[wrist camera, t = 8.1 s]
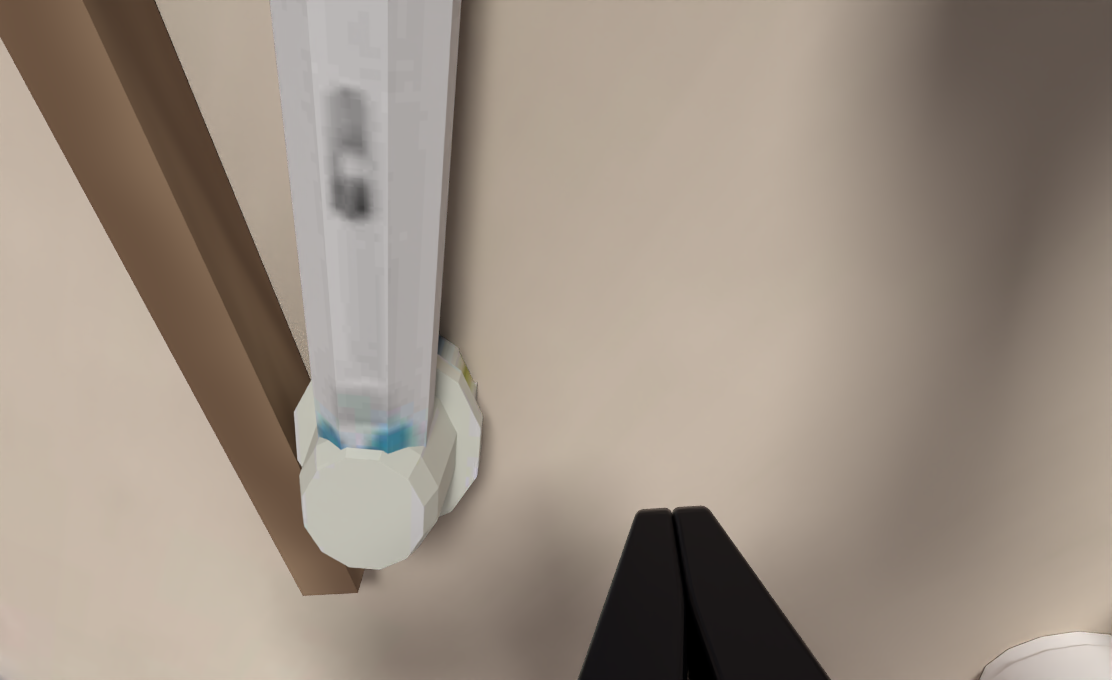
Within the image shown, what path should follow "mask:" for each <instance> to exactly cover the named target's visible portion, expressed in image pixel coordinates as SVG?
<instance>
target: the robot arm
mask: <svg viewBox="0 0 1112 680" xmlns="http://www.w3.org/2000/svg"><path fill="white" fill-rule="evenodd" d="M578 680H831V679H830V678H829V676H828V675H827V673H826V672H825V671H824V669H823V668H822V666H821V665H820V664H819V662H818V661H817V659H816V658H815V657H814V655H813V654H812V652H811V651H810V650H809V648H808V647H807V645H806V644H805V643H804V641H803V640H802V638H801V637H800V636H799V634H798V633H797V631H796V630H795V629H794V627H793V626H792V624H791V623H790V622H789V620H788V619H787V617H786V616H785V615H784V613H783V612H782V610H781V609H780V608H779V606H778V605H777V603H776V602H775V601H774V599H773V598H772V596H771V595H770V594H769V592H768V591H767V589H766V588H765V587H764V585H763V584H762V582H761V581H760V580H759V578H758V577H757V575H756V574H755V573H754V571H753V570H752V568H751V567H750V565H749V564H748V563H747V561H746V560H745V558H744V557H743V556H742V554H741V553H740V551H739V550H738V549H737V547H736V546H735V544H734V543H733V542H732V540H731V539H730V537H729V536H728V535H727V533H726V532H725V530H724V529H723V528H722V526H721V525H720V523H719V522H718V521H717V519H716V518H715V516H714V515H713V514H712V512H711V511H710V510H709V509H708V508H707V507H705V506H687V507H677V508H675V509H674V510H673V512H671V511H670V510H669V509H667V508H656V509H642V510H639V511H638V512H637V513H636V515H635V517H634V520H633V523H632V526H631V529H630V532H629V535H628V537H627V540H626V543H625V546H624V549H623V552H622V555H621V557H620V560H619V563H618V566H617V569H616V572H615V575H614V578H613V580H612V583H611V586H610V589H609V592H608V595H607V598H606V600H605V603H604V606H603V609H602V612H601V615H600V618H599V620H598V623H597V626H596V629H595V632H594V635H593V638H592V641H591V643H590V646H589V649H588V652H587V655H586V658H585V661H584V663H583V666H582V669H581V672H580V675H579V678H578Z"/></svg>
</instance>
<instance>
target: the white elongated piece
mask: <svg viewBox="0 0 1112 680" xmlns="http://www.w3.org/2000/svg"><path fill="white" fill-rule="evenodd" d="M270 8H271V17H272V26H273V35H274V44H275V53H276V62H277V71H278V80H279V89H280V98H281V107H282V116H283V125H284V134H285V143H286V152H287V161H288V170H289V179H290V188H291V197H292V206H293V215H294V224H295V233H296V242H297V251H298V260H299V269H300V278H301V287H302V296H303V305H304V314H305V323H306V332H307V341H308V350H309V359H310V368H311V377H312V380H311V381H310V383H309V385H308V387H307V389H306V391H305V393H304V394H303V396H302V398H301V400H300V402H299V404H298V405H297V407H296V409H295V411H294V420H295V433H296V447H297V460H298V462H299V463H300V465H301V466H302V469H301V472H300V475H299V478H300V492H301V505H302V514H303V522H304V527H305V528H306V529H307V531H308V532H309V534H310V535H311V537H312V538H313V540H314V541H315V543H316V544H317V546H318V547H319V549H320V550H321V551H322V552H323V553H325V554H327V555H329V556H330V557H332V558H334V559H336V560H337V561H339V562H341V563H343V564H344V565H346V566H348V567H352V568H365V569H377V570H381V569H383V568H385V567H388V566H390V565H393V564H395V563H397V562H400V561H402V560H404V559H407V558H408V557H409V556H410V555H411V554H412V553H413V552H414V551H415V550H416V549H417V548H418V547H419V546H420V544H421V543H422V542H423V540H424V539H425V537H426V536H427V535H428V533H429V532H430V530H431V529H432V528H433V526H434V525H435V523H436V522H437V520H438V517H440V516H442V515H445V514H447V513H449V512H452V510H453V509H454V507H455V506H456V505H457V503H458V502H459V501H460V499H461V498H462V496H463V495H464V494H465V492H466V491H467V489H468V488H469V487H470V485H471V484H472V483H473V481H474V480H475V478H476V477H477V475H478V469H479V462H480V449H481V436H482V422H483V415H482V413H481V411H480V409H479V407H478V404H477V402H476V396H477V382H473V380H472V377H471V375H470V373H469V371H468V369H467V367H466V365H465V363H464V361H463V359H462V356H461V354H460V352H459V348H458V347H457V346H455V345H454V344H452V343H451V342H449V341H448V340H446V339H445V338H443V337H442V336H440V335H439V322H440V308H441V293H442V278H443V263H444V249H445V234H446V219H447V205H448V190H449V175H450V161H451V146H452V131H453V117H454V102H455V87H456V73H457V58H458V43H459V29H460V14H461V0H270Z"/></svg>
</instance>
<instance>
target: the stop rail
mask: <svg viewBox="0 0 1112 680" xmlns="http://www.w3.org/2000/svg"><path fill="white" fill-rule="evenodd" d="M0 37H1V39H2V41H3V43H4V44H5V46H6V48H7V50H8V52H9V54H10V56H11V57H12V59H13V61H14V63H15V65H16V67H17V68H18V70H19V72H20V74H21V76H22V78H23V80H24V81H25V83H26V85H27V87H28V89H29V91H30V92H31V94H32V96H33V98H34V100H35V102H36V104H37V105H38V107H39V109H40V111H41V113H42V115H43V116H44V118H45V120H46V122H47V124H48V126H49V128H50V129H51V131H52V133H53V135H54V137H55V139H56V141H57V142H58V144H59V146H60V148H61V150H62V152H63V153H64V155H65V157H66V159H67V161H68V163H69V165H70V166H71V168H72V170H73V172H74V174H75V176H76V177H77V179H78V181H79V183H80V185H81V187H82V189H83V190H84V192H85V194H86V196H87V198H88V200H89V201H90V203H91V205H92V207H93V209H94V211H95V213H96V214H97V216H98V218H99V220H100V222H101V224H102V225H103V227H104V229H105V231H106V233H107V235H108V237H109V238H110V240H111V242H112V244H113V246H114V248H115V249H116V251H117V253H118V255H119V257H120V259H121V261H122V262H123V264H124V266H125V268H126V270H127V272H128V273H129V275H130V277H131V279H132V281H133V283H134V285H135V286H136V288H137V290H138V292H139V294H140V296H141V297H142V299H143V301H144V303H145V305H146V307H147V309H148V310H149V312H150V314H151V316H152V318H153V320H154V321H155V323H156V325H157V327H158V329H159V331H160V333H161V334H162V336H163V338H164V340H165V342H166V344H167V346H168V347H169V349H170V351H171V353H172V355H173V357H174V358H175V360H176V362H177V364H178V366H179V368H180V370H181V371H182V373H183V375H184V377H185V379H186V381H187V382H188V384H189V386H190V388H191V390H192V392H193V394H194V395H195V397H196V399H197V401H198V403H199V405H200V406H201V408H202V410H203V412H204V414H205V416H206V418H207V419H208V421H209V423H210V425H211V427H212V429H213V430H214V432H215V434H216V436H217V438H218V440H219V442H220V443H221V445H222V447H223V449H224V451H225V453H226V454H227V456H228V458H229V460H230V462H231V464H232V466H233V467H234V469H235V471H236V473H237V475H238V477H239V478H240V480H241V482H242V484H243V486H244V488H245V490H246V491H247V493H248V495H249V497H250V499H251V501H252V502H253V504H254V506H255V508H256V510H257V512H258V514H259V515H260V517H261V519H262V521H263V523H264V525H265V526H266V528H267V530H268V532H269V534H270V536H271V538H272V539H273V541H274V543H275V545H276V547H277V549H278V550H279V552H280V554H281V556H282V558H283V560H284V562H285V563H286V565H287V567H288V569H289V571H290V573H291V575H292V576H293V578H294V580H295V582H296V584H297V586H298V587H299V589H300V591H301V593H302V595H303V596H307V595H326V594H344V593H358V590H359V587H360V583H361V580H362V576H363V573H364V569H365V568H352V567H348V566H346V565H344V564H343V563H341V562H339V561H337V560H336V559H334V558H332V557H330V556H329V555H327V554H325V553H323V552H322V551H321V550H320V549H319V547H318V546H317V544H316V543H315V541H314V540H313V538H312V537H311V535H310V534H309V532H308V531H307V529H306V528H305V527H304V522H303V514H302V505H301V492H300V478H299V475H300V472H301V469H302V466H301V465H300V463H299V462H298V460H297V447H296V433H295V420H294V411H295V409H296V407H297V405H298V404H299V402H300V400H301V398H302V396H303V394H304V393H305V391H306V389H307V387H308V385H309V383H310V378H309V376H308V374H307V371H306V369H305V366H304V364H303V361H302V359H301V357H300V354H299V352H298V349H297V347H296V344H295V342H294V339H293V337H292V335H291V332H290V330H289V327H288V325H287V322H286V320H285V318H284V315H283V313H282V310H281V308H280V305H279V303H278V301H277V298H276V296H275V293H274V291H273V288H272V286H271V284H270V281H269V279H268V276H267V274H266V271H265V269H264V266H263V264H262V262H261V259H260V257H259V254H258V252H257V249H256V247H255V245H254V242H253V240H252V237H251V235H250V232H249V230H248V228H247V225H246V223H245V220H244V218H243V215H242V213H241V211H240V208H239V206H238V203H237V201H236V198H235V196H234V193H233V191H232V189H231V186H230V184H229V181H228V179H227V176H226V174H225V172H224V169H223V167H222V164H221V162H220V159H219V157H218V155H217V152H216V150H215V147H214V145H213V142H212V140H211V138H210V135H209V133H208V130H207V128H206V125H205V123H204V120H203V118H202V116H201V113H200V111H199V108H198V106H197V103H196V101H195V99H194V96H193V94H192V91H191V89H190V86H189V84H188V82H187V79H186V77H185V74H184V72H183V69H182V67H181V65H180V62H179V60H178V57H177V55H176V52H175V50H174V47H173V45H172V43H171V40H170V38H169V35H168V33H167V30H166V28H165V26H164V23H163V21H162V18H161V16H160V13H159V11H158V9H157V6H156V4H155V1H154V0H0Z"/></svg>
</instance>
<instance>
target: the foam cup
mask: <svg viewBox="0 0 1112 680" xmlns="http://www.w3.org/2000/svg"><path fill="white" fill-rule="evenodd" d="M980 680H1112V635H1109V634H1099V633H1088V632H1071V633H1064V634H1058V635H1051V636H1044V637H1040V638H1037V639H1034V640H1032V641H1029V642H1026V643H1024V644H1021V645H1019V646H1016V647H1013V648H1011V649H1008V650H1007V651H1005V652H1004V653H1003V654H1001V655H1000V656H999V657H997V658H996V659H995V660H993V661H992V662H991V663H989V664H988V665H987V666H986V667H985V669H984V671H983V673H982V676H981V678H980Z"/></svg>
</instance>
